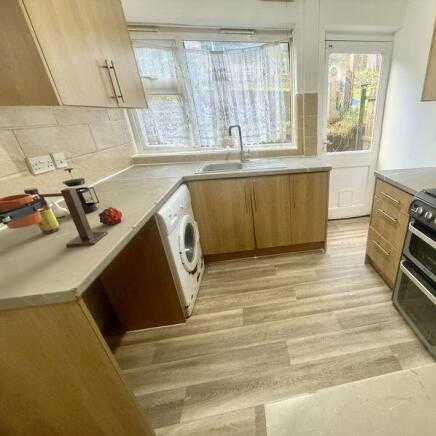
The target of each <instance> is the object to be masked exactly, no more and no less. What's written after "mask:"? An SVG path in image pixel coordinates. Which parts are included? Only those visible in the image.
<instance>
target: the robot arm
mask: <svg viewBox="0 0 436 436" xmlns="http://www.w3.org/2000/svg"><path fill="white" fill-rule="evenodd" d="M45 200H46V199H45V197H41V198H38V199H36V200H33V201H31V202H28V203H26V204H25V205H23V206H19V207H16V208H12V209H9V210H5V211H0V224H3V225H5V226H7V225H6V224H9V223H11V222H13V221H15V220H18V219H20V218H23V217H26V216H28V215H31V214H35V213H37V212H38V210H37V209H38V208H40V207H43V206H45V205H47V203H46V201H47V200H46V201H45Z"/></svg>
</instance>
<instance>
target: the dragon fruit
mask: <svg viewBox="0 0 436 436" xmlns="http://www.w3.org/2000/svg"><path fill="white" fill-rule="evenodd" d="M98 217H99V222H100V224H103V225H108V226H112V225H115V223H116V224H119V223H121V222H122V217H123V213H122V212H121V211H120V210H119V209H118V208H116V207H112V206H111V207H110V206H109V207H108V208H105V209H104V210H102V212H99V214H98Z"/></svg>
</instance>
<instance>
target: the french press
mask: <svg viewBox="0 0 436 436" xmlns="http://www.w3.org/2000/svg"><path fill="white" fill-rule="evenodd" d="M72 170H73V171H74V170H75V168H74V167H70V168H65V169H63V171H67V172H68V174H69V175H70V177H71V179H68V180H64V181H62V184H63V185H65V186H66V187H67V188H75V190H76V192H77V195H78V197H79V200H80V202H81V205H82V207H83V210H84V213H85V215H87V214H91V213H93V211H94V212H96V211H97V210H98V207H97V205H96V204H100V200H99V197H98V195H97V193H96V191H95V189H94V187H93V186H89V187H88V186H83V187H80V186H82V185H85V184H86V181H85V180H86V179H85V177H84V178H83V177H81V178H74V177H73V174H72ZM78 186H79V187H78ZM90 189H92V192H93V193H94V195H95V198H96V202H95V200H94V197H93V195H92V193H91V190H90ZM88 192H89V194H90V196H87V197H84V195H83V194H85V193H88ZM90 201H91V202H90ZM90 212H91V213H90ZM86 213H87V214H86Z"/></svg>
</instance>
